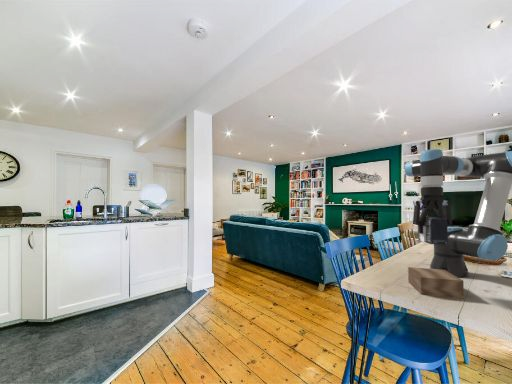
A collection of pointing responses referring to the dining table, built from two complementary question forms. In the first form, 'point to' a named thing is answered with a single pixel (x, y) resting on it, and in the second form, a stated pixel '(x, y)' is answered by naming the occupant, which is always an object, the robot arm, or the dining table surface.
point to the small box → (436, 231)
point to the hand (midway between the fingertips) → (432, 241)
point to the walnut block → (436, 282)
